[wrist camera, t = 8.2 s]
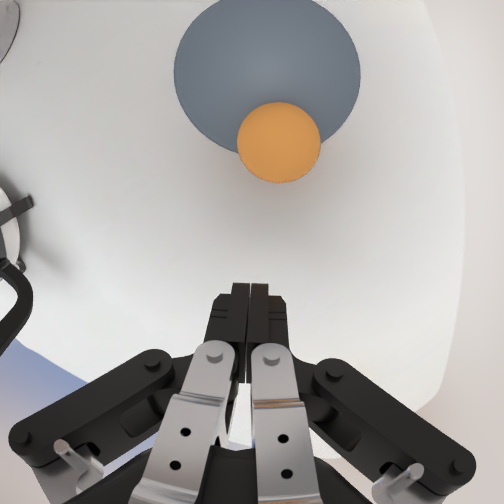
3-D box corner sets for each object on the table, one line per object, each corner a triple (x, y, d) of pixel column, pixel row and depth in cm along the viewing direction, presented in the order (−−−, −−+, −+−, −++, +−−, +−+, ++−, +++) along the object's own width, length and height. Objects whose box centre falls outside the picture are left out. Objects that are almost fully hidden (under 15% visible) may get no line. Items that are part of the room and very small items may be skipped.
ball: (240, 117, 14) (251, 81, 18) (224, 189, 19) (236, 142, 22) (337, 144, 15) (328, 102, 18) (305, 208, 20) (304, 159, 23)
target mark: (176, 157, 22) (175, 158, 22) (177, -3, 16) (176, -4, 16) (354, 163, 21) (355, 163, 21) (357, -1, 15) (358, -1, 15)
